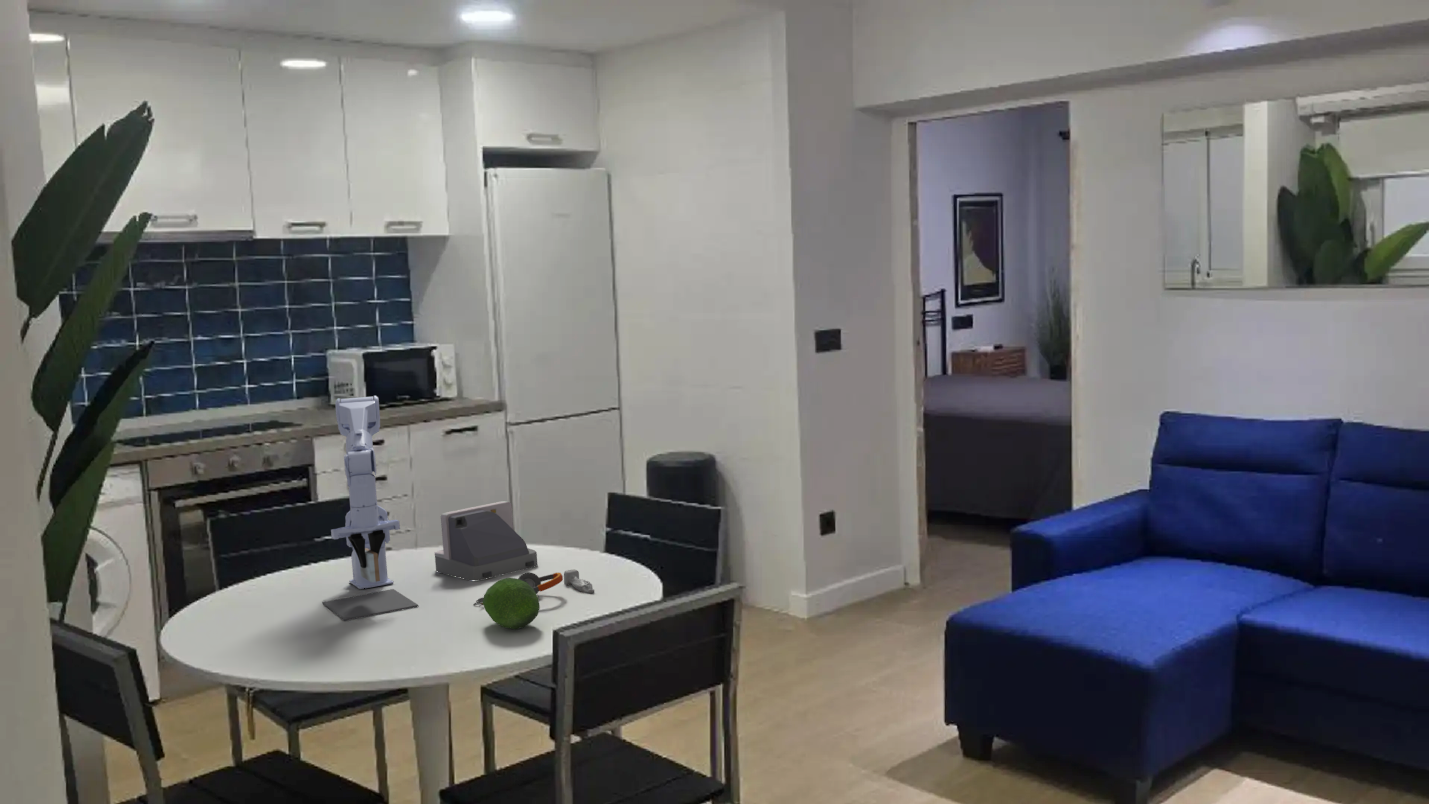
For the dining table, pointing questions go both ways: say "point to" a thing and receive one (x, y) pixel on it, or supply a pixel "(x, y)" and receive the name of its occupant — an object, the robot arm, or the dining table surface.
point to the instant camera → (482, 543)
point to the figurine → (577, 581)
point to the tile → (371, 566)
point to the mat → (369, 604)
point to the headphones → (536, 582)
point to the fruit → (511, 603)
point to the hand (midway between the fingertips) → (368, 566)
